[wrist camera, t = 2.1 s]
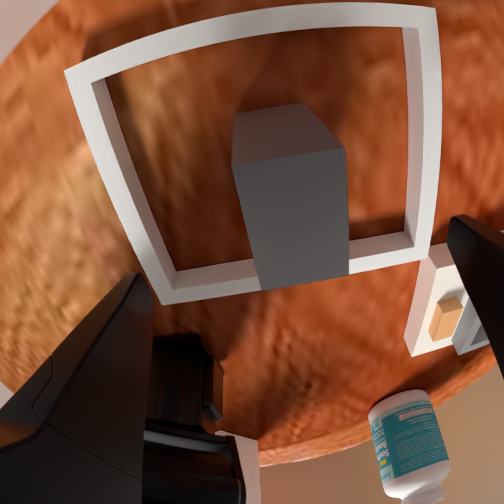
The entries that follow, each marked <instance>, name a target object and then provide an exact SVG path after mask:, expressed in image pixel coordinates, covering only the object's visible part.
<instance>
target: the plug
mask: <svg viewBox="0 0 504 504" xmlns="http://www.w3.org/2000/svg"><path fill="white" fill-rule="evenodd" d="M231 168H232V172H233V176H234V180H235V184H236V189H237V193H238V197H239V201H240V205H241V209H242V213H243V217H244V222H245V226H246V230H247V234H248V238H249V242H250V246H251V250H252V254H253V259H254V263H255V267H256V271H257V275H258V279H259V283H260V287H261V291H266V290H272V289H278V288H283V287H289V286H295V285H300V284H306V283H311V282H317V281H322V280H328V279H333V278H338V277H343V276H349V215H348V188H347V169H346V154H345V147H344V146H343V145H342V144H341V143H340V142H339V140H338V139H337V138H336V137H335V136H334V135H333V134H332V133H331V132H330V130H329V129H328V128H327V127H326V126H325V125H324V124H323V123H322V122H321V121H320V120H319V119H318V118H317V116H316V115H315V114H314V113H313V112H312V111H311V110H310V109H309V108H308V107H307V106H306V105H305V104H304V103H295V104H289V105H282V106H276V107H270V108H264V109H259V110H253V111H248V112H243V113H238V114H233V136H232V160H231Z"/></svg>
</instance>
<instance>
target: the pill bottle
mask: <svg viewBox="0 0 504 504" xmlns="http://www.w3.org/2000/svg"><path fill="white" fill-rule="evenodd" d="M368 418H369V423H370V427H371V431H372V436H373V440H374V445H375V449H376V454H377V458H378V463H379V468H380V472H381V477H382V483H383V487H384V491H385V492H386V494H387V495H389V496H390V497H398V498H401V499H402V502H401V504H433V503H436V502H438V501H441V500H443V499H445V496H444V490H442V488H440V484H441V482H442V481H443V480H444V479H445V478H446V477H447V476H448V474H449V472H450V468H451V467H450V463H449V458H448V455H447V451H446V448H445V445H444V442H443V438H442V435H441V432H440V429H439V425H438V422H437V419H436V416H435V413H434V410H433V407H432V404H431V401H430V399H429V396H428V394H427V393H426V392H425V391H423V390H419V389H414V390H408V391H404V392H400V393H398V394H395V395H392V396H390V397H388V398H386V399H384V400H382V401H381V402H379V403H378V404H376V405H375V406H374V407H373V408H372V409H371V411H370V412H369V416H368Z"/></svg>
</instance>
